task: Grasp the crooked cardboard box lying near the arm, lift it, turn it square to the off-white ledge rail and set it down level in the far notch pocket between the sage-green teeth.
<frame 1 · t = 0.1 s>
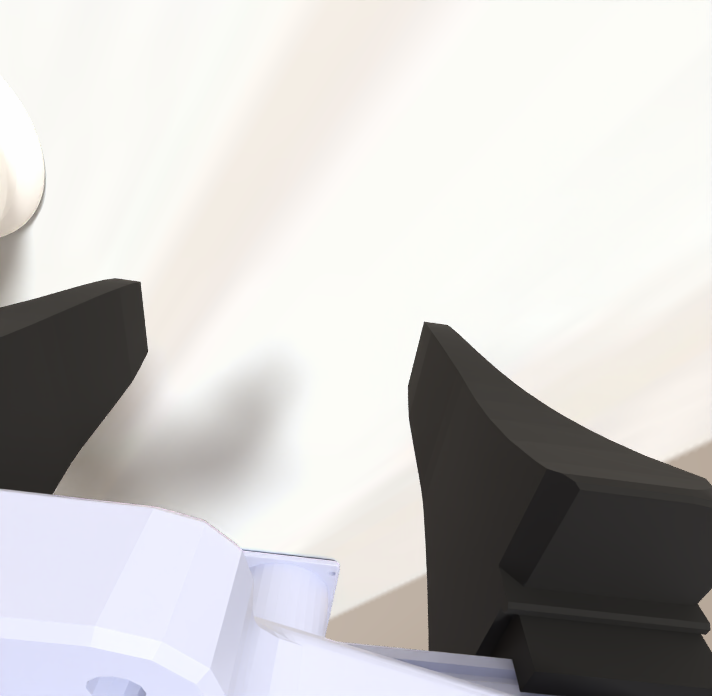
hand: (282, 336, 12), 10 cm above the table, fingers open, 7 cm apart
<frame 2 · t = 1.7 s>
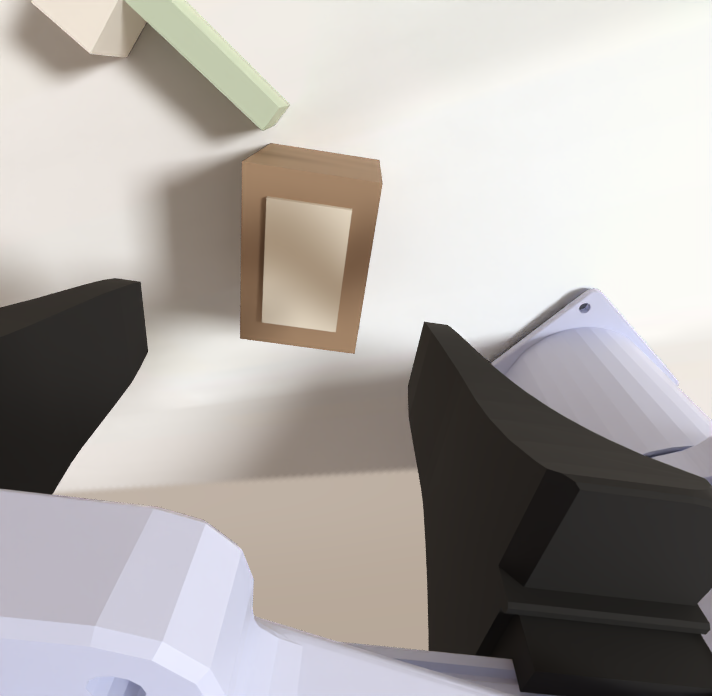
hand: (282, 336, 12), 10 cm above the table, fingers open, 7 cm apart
cardboard box: (318, 228, 20), on the table
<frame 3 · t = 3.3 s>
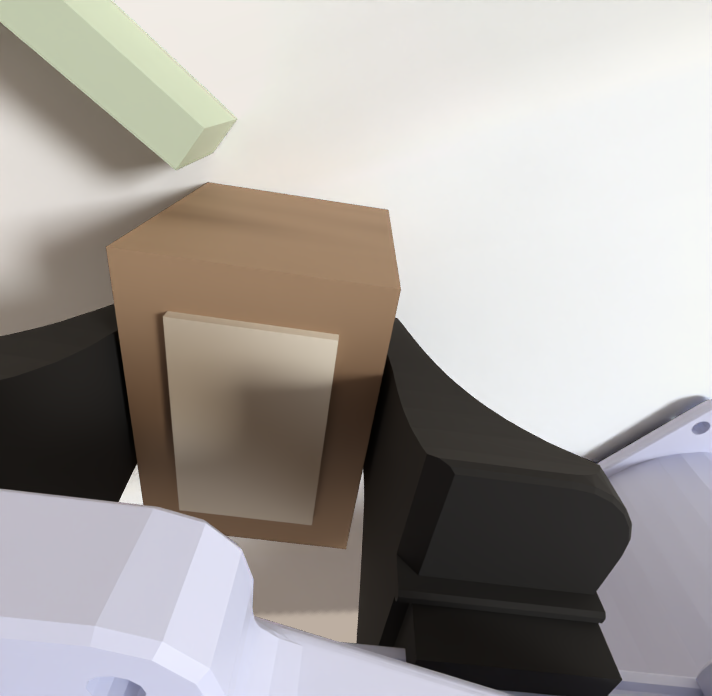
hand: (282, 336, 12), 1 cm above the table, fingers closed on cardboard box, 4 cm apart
cardboard box: (290, 312, 13), on the table, touching gripper
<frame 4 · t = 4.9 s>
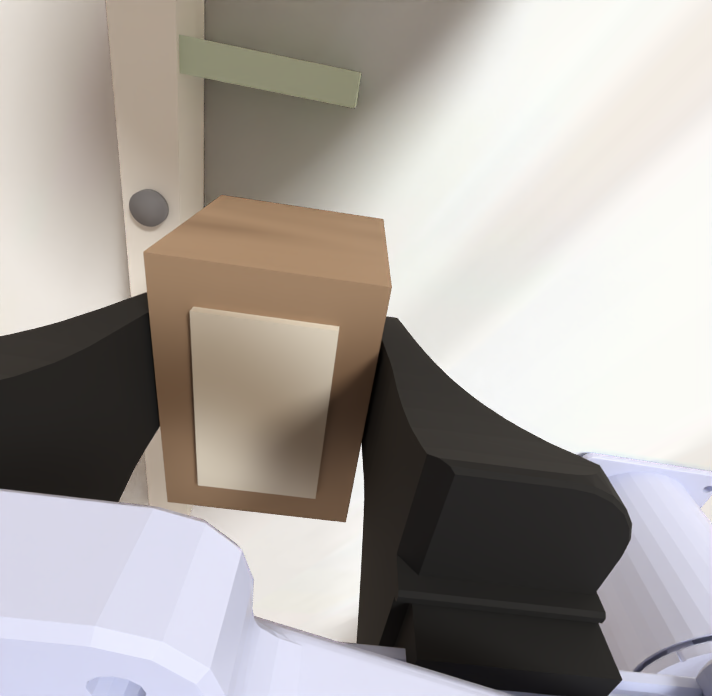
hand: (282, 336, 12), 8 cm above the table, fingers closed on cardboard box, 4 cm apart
ledge: (301, 318, 21), on the table
cardboard box: (294, 312, 14), point 6 cm above the table, touching gripper
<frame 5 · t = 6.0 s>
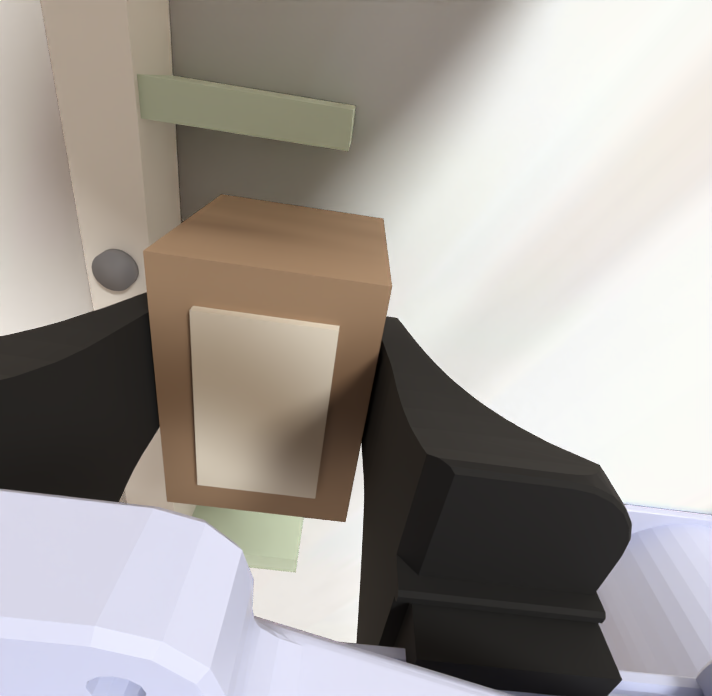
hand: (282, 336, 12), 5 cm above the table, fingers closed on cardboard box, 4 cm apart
ledge: (297, 372, 19), on the table
cardboard box: (294, 311, 14), point 3 cm above the table, touching gripper
when the fingers open (3 cm above the table, at t = 6.8 s): cardboard box stays where it is, on the table.
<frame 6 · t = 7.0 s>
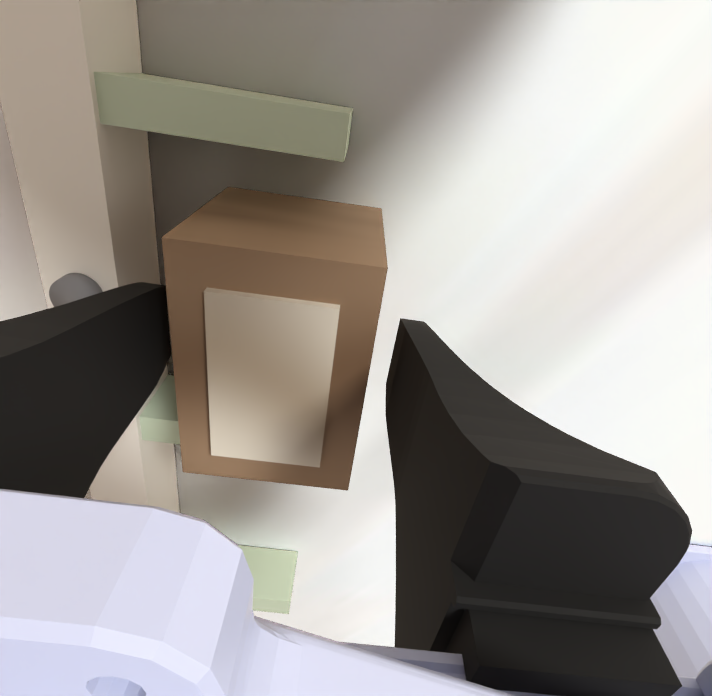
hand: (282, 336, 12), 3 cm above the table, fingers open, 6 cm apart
ledge: (289, 401, 17), on the table
cardboard box: (298, 297, 15), on the table
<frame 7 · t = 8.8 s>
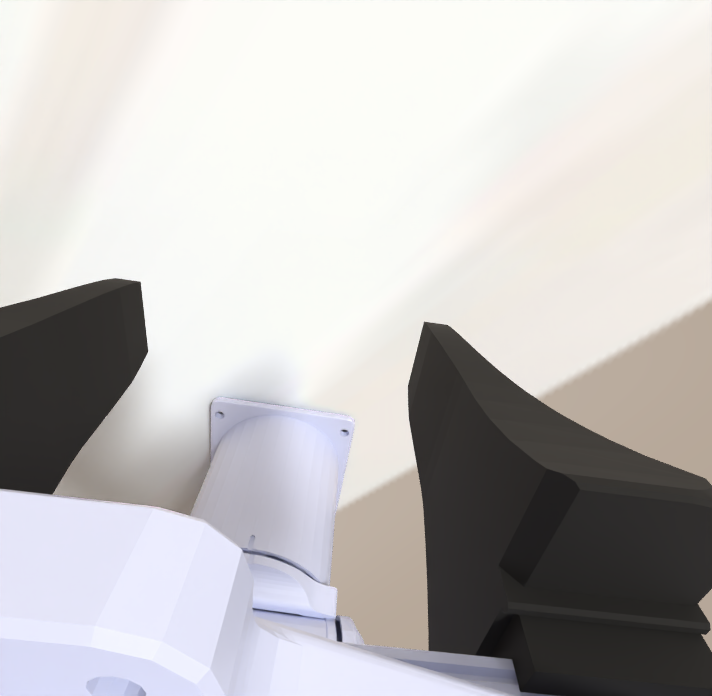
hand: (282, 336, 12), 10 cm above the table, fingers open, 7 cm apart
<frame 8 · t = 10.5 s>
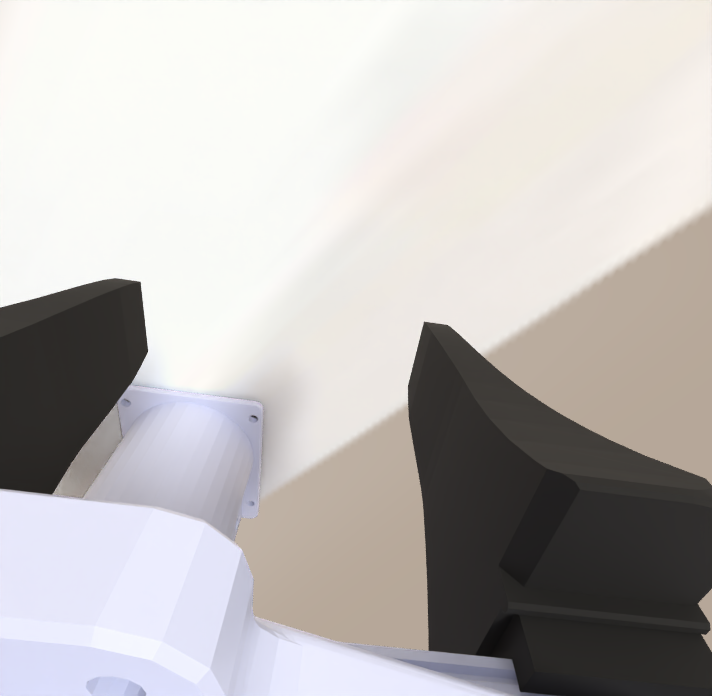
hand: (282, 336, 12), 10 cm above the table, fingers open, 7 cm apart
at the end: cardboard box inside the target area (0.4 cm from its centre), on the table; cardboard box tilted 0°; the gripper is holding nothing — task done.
